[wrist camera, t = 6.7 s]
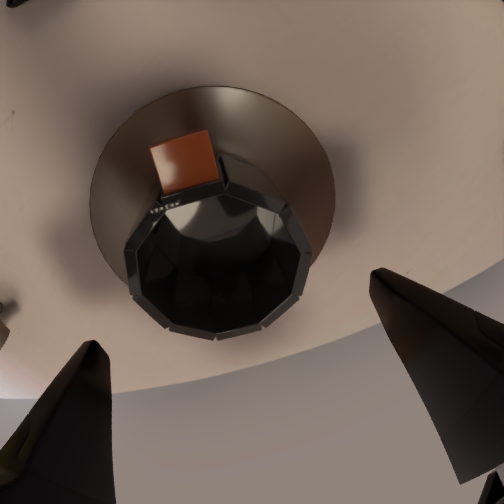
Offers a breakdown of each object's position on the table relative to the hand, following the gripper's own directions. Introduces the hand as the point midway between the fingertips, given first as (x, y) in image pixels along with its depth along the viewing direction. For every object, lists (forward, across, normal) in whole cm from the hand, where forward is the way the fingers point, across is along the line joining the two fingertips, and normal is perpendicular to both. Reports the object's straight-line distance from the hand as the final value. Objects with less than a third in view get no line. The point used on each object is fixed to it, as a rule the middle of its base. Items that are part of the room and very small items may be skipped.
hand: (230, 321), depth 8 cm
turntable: (+8, 0, 0) cm, 8 cm away
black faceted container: (+7, 0, -1) cm, 7 cm away
